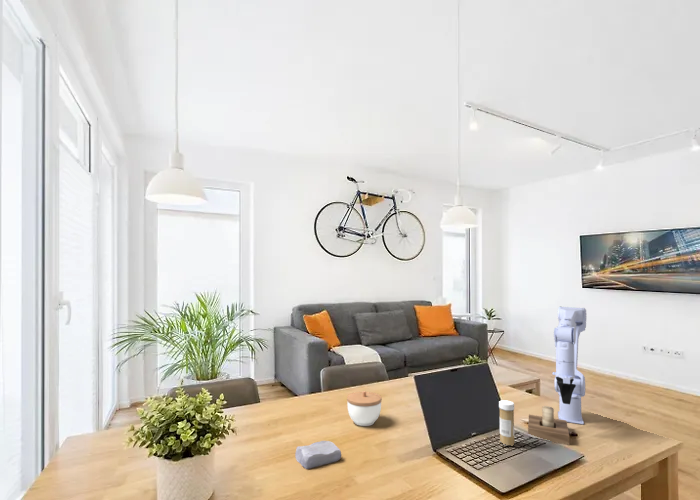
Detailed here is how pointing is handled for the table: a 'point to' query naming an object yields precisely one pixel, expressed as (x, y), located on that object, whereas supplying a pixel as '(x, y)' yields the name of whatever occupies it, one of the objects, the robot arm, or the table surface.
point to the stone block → (317, 454)
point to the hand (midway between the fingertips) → (565, 400)
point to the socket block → (549, 430)
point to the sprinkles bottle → (506, 422)
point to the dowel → (547, 416)
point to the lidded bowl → (364, 407)
